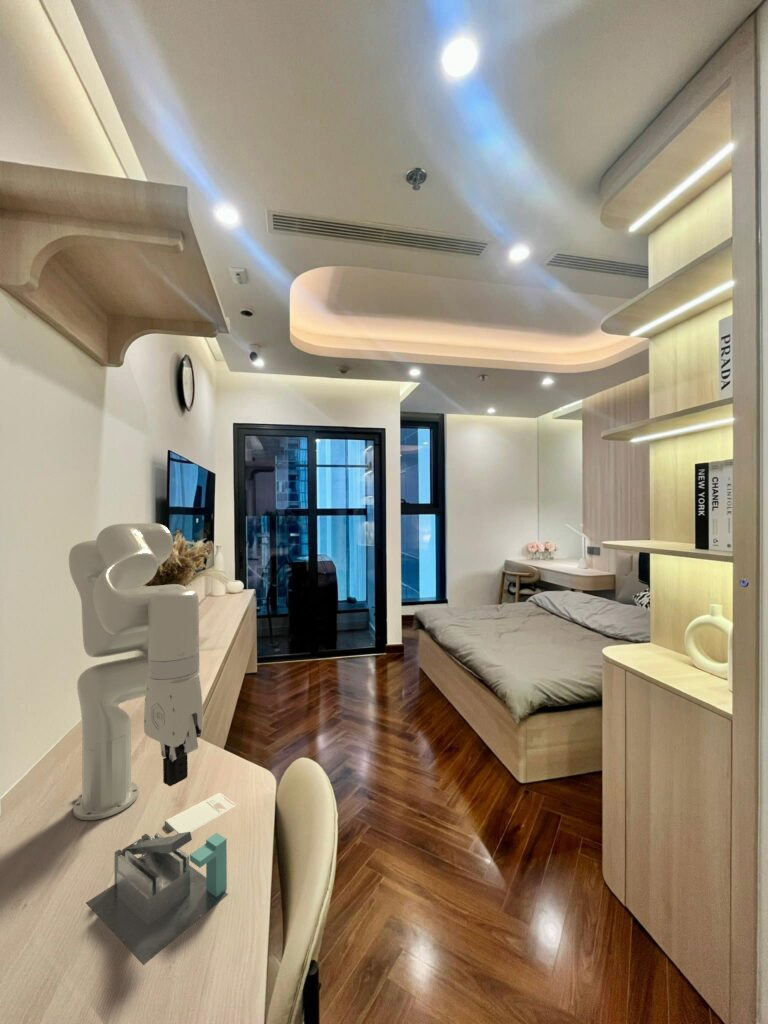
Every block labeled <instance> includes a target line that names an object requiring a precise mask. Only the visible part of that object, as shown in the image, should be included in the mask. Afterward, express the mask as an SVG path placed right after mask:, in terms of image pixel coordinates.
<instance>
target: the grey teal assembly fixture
mask: <svg viewBox="0 0 768 1024" xmlns="http://www.w3.org/2000/svg"><path fill="white" fill-rule="evenodd" d="M163 837H164V836H163V835H161V834H160V833H158V832H156V833H155V834H154V837H153V836H150V835H149V834H148V833H144V834H143V835H141V839H142V841H143V840H149V839H156V838H163ZM228 895H229V894H228V892H227V891H226V890H225V891H224V892H222V893H221V894H220V895H219V896H218V897H215V896H214V895H213V894H211V893H210V892H209V891H207V890H206V875H204V874H202V873H201V872H199V871H198V870H197V869H195V868H194V867H192V865H190V854H188V853H186V852H185V851H183V849H180V848H179V849H177V850H176V851H174V852H171V853H162V854H160V852H154V853H145V854H141V856H140V857H136V856H135V855H133V854H132V853H130V852H129V851H126V852H125V857H124V856H123V852H122V849H118V850H116V851H114V884H113V885H111V886H110V887H108V888H106V889H105V890H104V891H101V892H100V893H99V894H97V895H96V896H94V897H93V898H91V899H89V900H88V901H86V902H85V903H86V905H87V906H88V907H89V908H90V909H91V910H92V911H93V912H94V913H95V914H96V915H97V916H98V917H99V919H101V920H102V922H103V923H104V924H105V925H106V926H107V927H108V928H109V929H110V930H111V931H112V932H113V933H114V935H115V936H116V937H118V939H119V940H120V941H121V943H123V944H124V946H126V948H127V949H128V950H129V951H130V952H131V953H132V954H133V955H134V956H135V957H136V958H137V959H138V960H139V962H140V963H141V964H142V965H146V964H147V963H148V962H149V961H150V960H151V959H153V958H154V957H155V956H156V955H158V954H159V953H160V952H161V951H162V950H163V949H164V948H166V947H167V946H169V944H171V943H172V942H173V941H174V940H176V939H177V938H178V937H179V936H180V935H181V934H183V933H184V932H186V930H187V929H189V928H190V927H191V926H192V925H193V924H195V923H196V922H197V921H198V920H199V919H201V918H202V917H203V916H204V915H206V913H208V912H209V911H210V910H211V909H213V908H214V907H215V906H216V905H218V903H220V902H221V901H223V900H224V899H225V898H226V897H227V896H228Z"/></svg>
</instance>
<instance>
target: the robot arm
mask: <svg viewBox="0 0 768 1024" xmlns="http://www.w3.org/2000/svg"><path fill="white" fill-rule="evenodd" d="M173 549H174V538H173V535H172V532H171V531H170V530H169V528H168V527H167V526H166V525H163V524H161V523H157V522H156V523H153V522H152V523H151V522H150V523H145V522H144V523H142V522H141V523H115V524H111V525H109V526H107V527H104V528H103V529H101V531H100V532H99V533H98V534H97V537H96V539H95V540H94V539H93V540H87V541H82V542H79V543H77V544H75V545H73V547H71V548H70V550H69V554H68V566H69V572H70V576H71V578H72V581H73V584H74V585H75V587H76V590H77V592H78V593H79V598H80V601H81V602H80V603H81V621H82V622H81V623H82V640H83V641H82V642H83V648H84V651H85V653H86V655H87V656H88V657H91V658H103V657H104V658H106V657H110V656H116V655H121V654H126V653H132V652H138V654H139V655H137V656H133V657H128V658H122V659H117V660H112V661H107V662H102V663H100V664H96V665H93V666H90V667H88V668H87V669H85V670H84V671H83V672H82V673H80V675H79V677H78V679H77V683H76V689H77V690H76V691H77V696H78V697H77V698H78V702H79V707H80V713H81V716H80V717H81V739H82V740H81V741H82V742H81V780H82V781H81V797H79V798H78V799H77V800H76V802H75V803H74V806H73V808H72V809H73V815H74V817H76V818H77V819H79V820H82V821H96V820H97V821H98V820H101V819H102V820H103V819H104V818H105V819H106V818H109V817H111V816H115V815H116V814H119V813H120V812H122V811H124V810H125V809H127V808H129V807H130V806H131V805H132V804H133V803H134V802H135V801H136V800H137V799H138V797H139V794H140V793H139V792H140V791H139V790H140V788H139V786H138V784H137V783H135V782H132V720H131V716H130V715H129V714H128V713H127V711H125V710H124V709H123V708H121V707H120V706H119V705H120V704H122V703H125V702H128V701H132V700H134V699H135V700H136V699H139V698H143V697H144V709H143V710H144V712H143V714H144V715H143V731H144V734H145V736H147V737H149V738H151V739H153V740H155V741H156V742H159V743H160V744H159V745H160V753H161V757H162V758H163V759H162V764H163V765H162V769H163V770H162V771H163V772H162V773H163V776H162V777H163V778H162V781H163V784H165V785H167V786H169V787H172V786H174V785H177V784H178V783H180V782H182V781H184V780H185V779H187V778H188V773H189V772H188V765H189V764H188V755H189V754H190V753H191V752H194V751H196V750H198V749H199V743H198V738H200V737H201V736H202V734H203V732H204V731H203V730H204V706H203V694H202V687H201V680H200V675H199V673H200V608H199V606H200V603H199V595H198V594H197V592H196V591H195V590H194V589H189V588H187V587H186V586H184V585H182V584H177V583H172V584H164V585H150V586H145V585H147V584H148V583H149V582H150V581H152V579H154V577H155V576H156V574H157V573H158V569H159V567H160V566H161V565H162V564H163V563H165V562H166V561H167V560H168V559H169V558H170V556H171V555H172V552H173Z"/></svg>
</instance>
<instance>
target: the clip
mask: <svg viewBox="0 0 768 1024" xmlns="http://www.w3.org/2000/svg"><path fill="white" fill-rule="evenodd" d="M227 850H228V849H227V838H226V837H224V836H222V835H221V834H219V833H218V832H215V833H214V834H213V835H211V836H209V837H208V838H207V839H206V840H205V843H204V844H203V845H201V846H199V848H197V849H196V850H194V851H193V852H191V853H190V854H189V862H191V863H193V864H194V865H195V866H197V867H198V868H199V869H200V868H202V867H203V866H205V865H206V866H205V867H206V868H205V869H206V870H205V871H206V874H205V877H206V890H207V891H209V892H210V893H211V894H213V895H214V896H215V897H218V896H219V895H220V894H221V893H222V892H224V891H225V892H226V891H227V889H228V888H227V887H228V884H227V883H228V882H227V881H228V880H227V879H228V878H227V873H228V870H227V869H228V868H227V861H228V860H227V853H228V852H227Z"/></svg>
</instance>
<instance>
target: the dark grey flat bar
mask: <svg viewBox="0 0 768 1024" xmlns="http://www.w3.org/2000/svg"><path fill="white" fill-rule="evenodd" d="M192 840H193V839H192V832H191V833H190V832H185V833H176V834H175V835H171V836H163V838H156V839H155V838H154V839H149V840H143V841H142V838H139V839H138V840H136V841H133V843H131V844H129V845H128V846H126V847H124V848H123V849H121V851H122V852H123V856H124V857H125V852H126V851H129V852H130V853H132V854H133V855H134V856H135V855H142V854H145V853H154V852H160V854H162V853H171V852H174V851H176V850H177V849H180V848H182V847H183V846H185V845H186V844H188V843H189V842H191V841H192Z"/></svg>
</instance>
